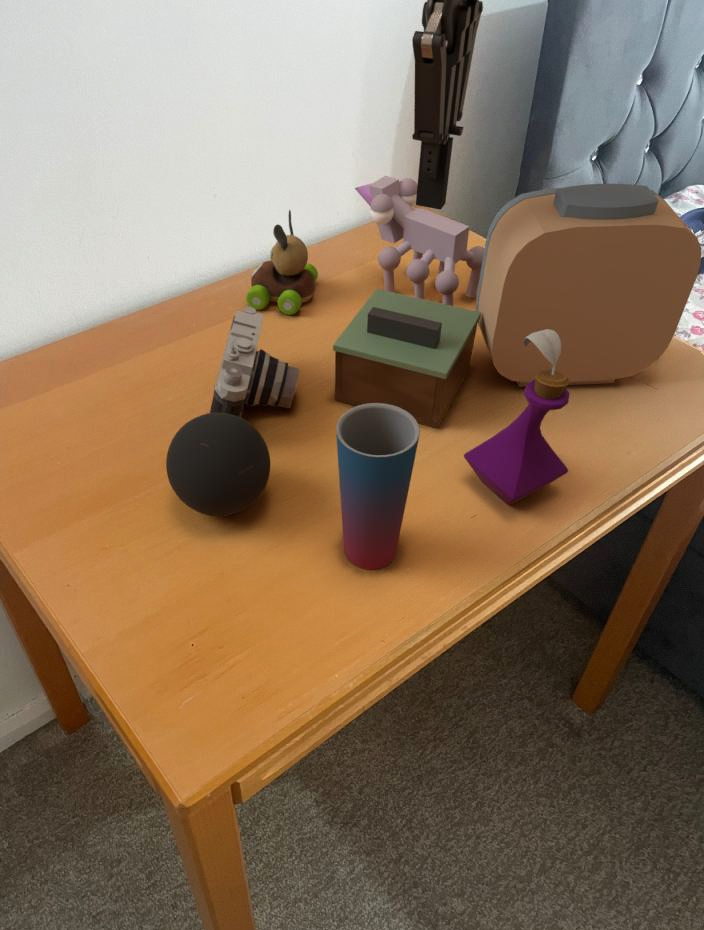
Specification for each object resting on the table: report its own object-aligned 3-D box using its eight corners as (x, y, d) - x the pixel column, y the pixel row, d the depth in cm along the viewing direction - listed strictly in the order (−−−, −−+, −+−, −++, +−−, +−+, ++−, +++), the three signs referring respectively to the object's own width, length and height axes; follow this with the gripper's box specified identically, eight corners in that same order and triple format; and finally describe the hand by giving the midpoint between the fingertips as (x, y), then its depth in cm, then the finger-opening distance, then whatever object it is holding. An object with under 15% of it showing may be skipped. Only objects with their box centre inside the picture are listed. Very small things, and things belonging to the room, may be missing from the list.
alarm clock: (626, 341, 96) (685, 168, 81) (653, 386, 90) (723, 208, 74) (466, 347, 95) (495, 173, 80) (482, 393, 89) (517, 214, 73)
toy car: (264, 275, 108) (259, 198, 100) (323, 284, 106) (323, 206, 98) (241, 308, 102) (234, 229, 94) (304, 318, 100) (302, 238, 92)
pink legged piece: (329, 278, 107) (329, 182, 97) (376, 251, 113) (381, 157, 103) (443, 330, 98) (457, 230, 88) (489, 298, 103) (507, 200, 94)
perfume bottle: (562, 493, 77) (610, 344, 64) (506, 522, 74) (546, 372, 61) (512, 452, 82) (548, 304, 69) (458, 478, 79) (485, 329, 66)
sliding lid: (480, 318, 87) (484, 293, 85) (445, 379, 79) (449, 354, 77) (375, 294, 91) (377, 269, 89) (332, 350, 83) (333, 325, 81)
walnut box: (469, 367, 92) (478, 319, 87) (437, 428, 84) (444, 379, 79) (374, 344, 96) (376, 296, 91) (334, 400, 88) (335, 351, 83)
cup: (327, 569, 70) (327, 449, 60) (342, 518, 75) (345, 397, 64) (399, 583, 69) (412, 463, 58) (410, 529, 74) (425, 409, 63)
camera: (278, 463, 83) (301, 393, 76) (201, 443, 81) (217, 371, 74) (291, 377, 94) (312, 309, 87) (223, 359, 92) (239, 289, 85)
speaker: (190, 462, 81) (177, 386, 73) (281, 472, 79) (277, 397, 72) (161, 530, 74) (143, 454, 67) (260, 543, 73) (253, 467, 65)
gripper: (441, -101, 66) (417, 174, 83) (388, -75, 57) (373, 224, 75) (526, -95, 64) (483, 185, 81) (483, -67, 55) (445, 238, 72)
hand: (430, 204), depth 78 cm, fingers closed
